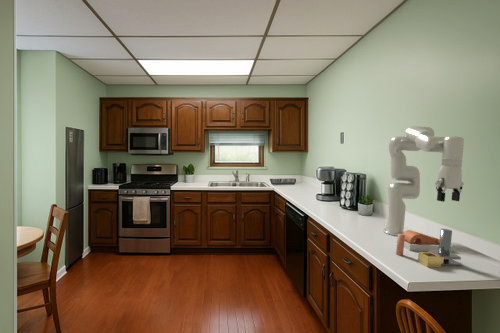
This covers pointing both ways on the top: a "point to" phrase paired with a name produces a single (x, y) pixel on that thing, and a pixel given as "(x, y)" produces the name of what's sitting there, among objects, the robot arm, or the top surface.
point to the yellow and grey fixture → (440, 253)
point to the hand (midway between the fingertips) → (448, 200)
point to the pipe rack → (422, 247)
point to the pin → (400, 244)
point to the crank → (419, 238)
